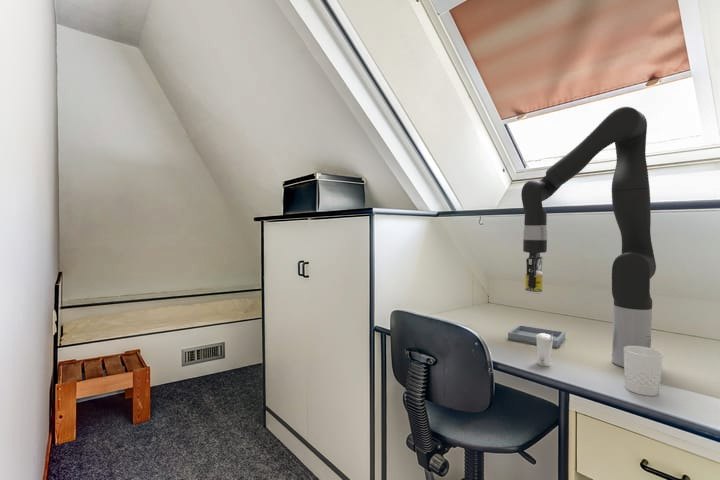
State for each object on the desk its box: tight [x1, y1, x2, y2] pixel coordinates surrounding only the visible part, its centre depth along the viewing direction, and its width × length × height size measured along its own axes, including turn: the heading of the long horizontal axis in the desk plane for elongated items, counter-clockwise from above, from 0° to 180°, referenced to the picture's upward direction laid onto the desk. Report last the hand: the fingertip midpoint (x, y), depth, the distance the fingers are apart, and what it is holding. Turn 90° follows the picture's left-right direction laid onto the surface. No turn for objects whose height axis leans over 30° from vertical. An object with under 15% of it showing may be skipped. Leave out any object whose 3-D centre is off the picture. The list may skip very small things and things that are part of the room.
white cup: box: [623, 346, 664, 397], centre depth 96 cm, size 8×8×10 cm
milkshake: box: [536, 333, 553, 367], centre depth 113 cm, size 5×5×10 cm
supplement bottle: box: [524, 265, 544, 294], centre depth 135 cm, size 5×5×10 cm
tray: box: [507, 324, 566, 349], centre depth 139 cm, size 16×14×2 cm
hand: (534, 286), depth 135 cm, fingers closed on supplement bottle, 5 cm apart
